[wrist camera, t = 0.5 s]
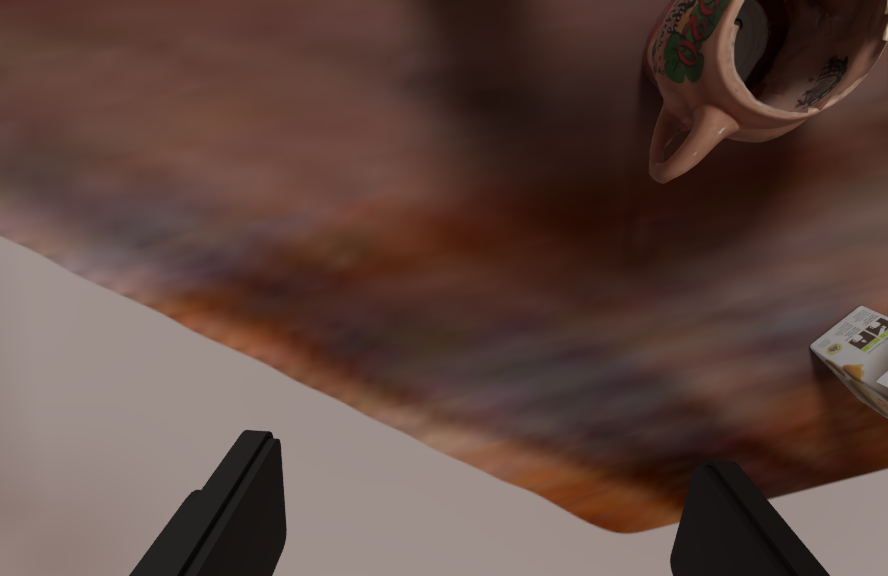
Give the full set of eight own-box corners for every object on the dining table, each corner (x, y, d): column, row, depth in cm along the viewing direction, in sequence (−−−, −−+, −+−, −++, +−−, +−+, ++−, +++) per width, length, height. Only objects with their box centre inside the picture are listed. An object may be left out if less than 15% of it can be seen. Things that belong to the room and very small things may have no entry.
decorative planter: (682, 205, 44) (778, 237, 31) (568, 146, 43) (617, 153, 30) (826, -19, 38) (1020, -98, 25) (699, -95, 37) (833, -222, 24)
